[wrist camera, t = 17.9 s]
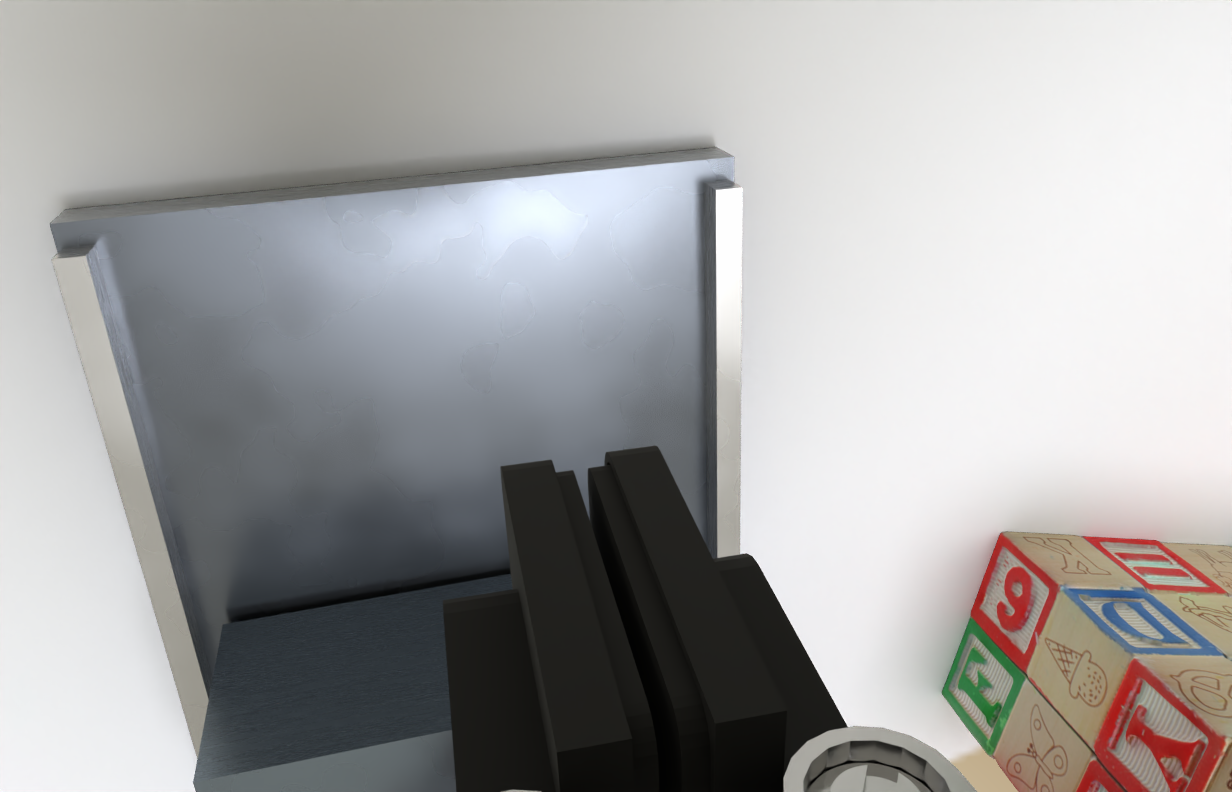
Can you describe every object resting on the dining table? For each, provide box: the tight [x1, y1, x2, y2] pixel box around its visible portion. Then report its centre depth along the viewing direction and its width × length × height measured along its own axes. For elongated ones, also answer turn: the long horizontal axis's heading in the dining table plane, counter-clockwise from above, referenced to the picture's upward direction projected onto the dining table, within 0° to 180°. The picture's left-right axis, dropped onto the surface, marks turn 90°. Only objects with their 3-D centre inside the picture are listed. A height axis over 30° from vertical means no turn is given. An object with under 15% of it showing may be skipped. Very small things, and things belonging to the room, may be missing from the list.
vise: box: [50, 147, 742, 759], centre depth 24 cm, size 23×14×7 cm, turn 3°
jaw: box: [193, 574, 513, 792], centre depth 23 cm, size 5×11×5 cm, turn 93°
